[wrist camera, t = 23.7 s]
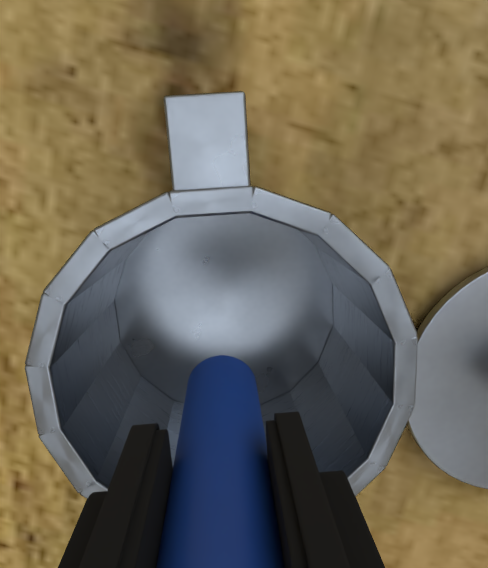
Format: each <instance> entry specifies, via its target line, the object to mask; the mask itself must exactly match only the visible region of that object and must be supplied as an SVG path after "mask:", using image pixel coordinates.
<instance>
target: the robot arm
mask: <svg viewBox="0 0 488 568" xmlns="http://www.w3.org/2000/svg"><path fill="white" fill-rule="evenodd" d="M266 441H267V459H268V466H269V472H270V478H271V485H272V491H273V497H274V503H275V510H276V516H277V522H278V528H279V535H280V541H281V547H282V553H283V559H284V566H285V568H385V566H384V564H383V562H382V559H381V557H380V554H379V552H378V550H377V547H376V545H375V543H374V540H373V538H372V535H371V533H370V531H369V528H368V526H367V523H366V521H365V519H364V516H363V514H362V512H361V509H360V507H359V504H358V502H357V500H356V497H355V495H354V493H353V490H352V488H351V485H350V483H349V481H348V478H347V476H346V474H345V472H344V471H342V470H340V471H328V472H319V471H318V468H317V465H316V462H315V459H314V456H313V453H312V450H311V447H310V444H309V441H308V438H307V435H306V432H305V429H304V426H303V423H302V420H301V417H300V414H299V412H298V411H297V412H285V413H274V420H269V421H266ZM172 473H173V466H172V458H171V449H170V441H169V433H168V430H167V429H162V430H160V428H159V425H158V423H153V424H141V425H133V426H132V427H131V429H130V431H129V434H128V437H127V439H126V442H125V445H124V447H123V450H122V453H121V455H120V458H119V461H118V464H117V466H116V469H115V472H114V474H113V477H112V480H111V482H110V485H109V488H108V490H107V491H101V492H93V493H92V494H90V495H89V497H88V499H87V501H86V503H85V505H84V508H83V510H82V513H81V515H80V517H79V520H78V522H77V524H76V527H75V529H74V531H73V534H72V536H71V538H70V541H69V543H68V545H67V548H66V550H65V552H64V555H63V557H62V559H61V562H60V564H59V567H58V568H156V566H157V560H158V554H159V548H160V543H161V537H162V531H163V525H164V519H165V513H166V508H167V502H168V496H169V490H170V484H171V478H172Z"/></svg>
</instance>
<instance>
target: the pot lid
mask: <svg viewBox="0 0 488 568" xmlns="http://www.w3.org/2000/svg"><path fill="white" fill-rule="evenodd" d="M417 337H418V346H417V373H416V399H415V405H414V406H415V407H414V409H413V412H412V414H411V416H410V418H409V420H408V422H407V425H408V428H409V430H410V432H411V434H412V436H413V437H414V439H415V441H416V443H417V444H418V445H419V447H420V448H421V449H422V451H423V452H424V453H425V455H426V456H427V457H428V458H429V459H430V460H431V461H432V462H433V463H434V464H435V465H436V466H437V467H438V468H440V469H441V470H443V471H444V472H445V473H447V474H448V475H450V476H452V477H454V478H456V479H458V480H460V481H462V482H464V483H467V484H470V485H473V486H476V487H481V488H485V489H488V267H486V268H484V269H482V270H480V271H479V272H477V273H475V274H473V275H471V276H469V277H468V278H467V279H465V280H464V281H462V282H461V283H459V284H458V285H457V286H455V287H454V288H453V289H452V290H451V291H449V292H448V293H447V294H446V295H445V296H444V297H443V298H442V299H441V300H440V301H439V302H438V303H437V304H436V305H435V306H434V308H433V309H432V310H431V311H430V312H429V314H428V315H427V316H426V318H425V319H424V321H423V322H422V324H421V325H420V327H419V329H418V330H417Z"/></svg>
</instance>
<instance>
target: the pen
mask: <svg viewBox="0 0 488 568" xmlns="http://www.w3.org/2000/svg"><path fill="white" fill-rule="evenodd" d="M156 568H285V566H284V559H283V553H282V547H281V541H280V535H279V528H278V522H277V516H276V510H275V503H274V497H273V491H272V485H271V478H270V472H269V466H268V459H267V444H266V438H265V432H264V426H263V420H262V414H261V408H260V402H259V396H258V390H257V384H256V379H255V376H254V374H253V372H252V370H251V369H250V368H249V366H248V365H247V364H245V363H244V362H243V361H241V360H239V359H237V358H235V357H231V356H225V355H219V356H213V357H210V358H207V359H205V360H204V361H202V362H201V363H199V364H198V365H197V366H196V367H195V368H194V369H193V371H192V373H191V374H190V377H189V380H188V384H187V390H186V396H185V402H184V408H183V413H182V419H181V425H180V431H179V437H178V442H177V448H176V454H175V460H174V466H173V473H172V478H171V484H170V490H169V496H168V502H167V508H166V513H165V519H164V525H163V531H162V537H161V543H160V548H159V554H158V560H157V566H156Z"/></svg>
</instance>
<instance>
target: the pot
mask: <svg viewBox="0 0 488 568" xmlns="http://www.w3.org/2000/svg"><path fill="white" fill-rule="evenodd" d="M163 100H164V109H165V119H166V129H167V139H168V149H169V159H170V169H171V179H172V189H173V190H172V191H169V192H165V193H163V194H161V195H159V196H157V197H155V198H153V199H151V200H149V201H147V202H145V203H143V204H141V205H139V206H137V207H135V208H133V209H131V210H129V211H127V212H125V213H123V214H122V215H120V216H118V217H116V218H114V219H112V220H110V221H108V222H106V223H104V224H102V225H100V226H98V227H96V228H95V229H94V230H92V231H91V232H90V233H89V234H88V235H87V237H86V238H85V239H84V240H83V242H82V243H81V244H80V245H79V247H78V248H77V249H76V250H75V252H74V253H73V254H72V255H71V257H70V258H69V259H68V260H67V262H66V263H65V264H64V265H63V266H62V268H61V269H60V270H59V271H58V273H57V274H56V275H55V276H54V278H53V279H52V280H51V281H50V283H49V284H48V285H47V286H46V288H45V289H44V291H43V294H42V295H41V300H40V304H39V308H38V312H37V316H36V320H35V324H34V328H33V332H32V336H31V341H30V345H29V349H28V353H27V357H26V361H25V364H26V365H25V371H26V376H27V381H28V386H29V391H30V395H31V400H32V405H33V410H34V415H35V420H36V425H37V430H38V434H39V438H40V439H41V441H42V442H43V444H44V445H45V447H46V448H47V449H48V451H49V452H50V454H51V455H52V457H53V458H54V459H55V461H56V462H57V464H58V465H59V466H60V468H61V469H62V471H63V472H64V474H65V475H66V476H67V478H68V479H69V481H70V482H71V484H72V485H73V486H74V488H75V489H76V491H77V492H78V493H80V494H81V495H82V496H84V497H85V498H87V499H88V497H89V495H90V494H92V493H93V492H101V491H107V490H108V488H109V485H110V482H111V480H112V477H113V474H114V472H115V469H116V466H117V464H118V461H119V458H120V455H121V453H122V450H123V447H124V445H125V442H126V439H127V437H128V434H129V431H130V429H131V427H132V426H133V425H141V424H153V423H158V425H159V428H160V430H162V429H167V430H168V433H169V441H170V449H171V458H172V466H174V460H175V454H176V448H177V442H178V437H179V431H180V425H181V419H182V413H183V408H184V402H185V396H186V390H187V384H188V380H189V377H190V374H191V373H192V371H193V369H194V368H195V367H196V366H197V365H198V364H199V363H201V362H202V361H204V360H205V359H207V358H210V357H213V356H219V355H225V356H231V357H235V358H237V359H239V360H241V361H243V362H244V363H245V364H247V365H248V366H249V368H250V369H251V370H252V372H253V374H254V376H255V379H256V384H257V390H258V396H259V402H260V408H261V414H262V420H263V426H264V432H265V438H266V421H269V420H274V413H285V412H297V411H298V412H299V414H300V417H301V420H302V423H303V426H304V429H305V432H306V435H307V438H308V441H309V444H310V447H311V450H312V453H313V456H314V459H315V462H316V465H317V468H318V471H319V472H328V471H340V470H342V471H344V472H345V474H346V476H347V478H348V481H349V483H350V485H351V488H352V490H353V493H354V495H355V496H356V495H357V494H359V493H360V492H361V491H362V490H363V489H364V488H365V487H366V486H367V485H368V484H369V483H370V482H371V481H372V480H373V479H374V478H375V477H376V476H378V475H379V474H380V473H381V472H382V471H383V470H384V469H385V466H387V464H388V462H389V460H390V458H391V456H392V454H393V452H394V450H395V447H396V445H397V443H398V441H399V439H400V437H401V435H402V433H403V431H404V428H405V426H406V424H407V422H408V420H409V418H410V416H411V414H412V412H413V409H414V407H415V406H414V405H415V399H416V373H417V346H418V337H417V331H416V329H415V327H414V324H413V322H412V319H411V317H410V314H409V312H408V309H407V307H406V305H405V302H404V300H403V297H402V295H401V292H400V290H399V287H398V285H397V283H396V280H395V278H394V275H393V273H392V270H391V269H390V267H389V266H388V265H387V264H386V263H385V262H384V261H383V260H382V259H381V258H380V257H379V256H378V255H377V254H376V253H375V252H374V251H373V250H371V249H370V248H369V247H368V246H367V245H366V244H365V243H364V242H363V241H362V240H361V239H360V238H359V237H358V236H357V235H356V234H354V233H353V232H352V231H351V230H350V229H349V228H348V227H347V226H346V225H345V224H344V223H343V222H342V221H341V220H340V219H338V218H337V217H336V216H335V215H334V214H331V213H330V212H328V211H325V210H322V209H319V208H316V207H314V206H311V205H308V204H305V203H302V202H300V201H297V200H294V199H291V198H288V197H285V196H283V195H280V194H277V193H274V192H271V191H268V190H266V189H263V188H260V187H257V186H251V185H250V168H249V150H248V133H247V115H246V98H245V93H244V92H243V91H237V92H220V93H203V94H185V95H168V96H165V97H164V99H163ZM266 444H267V441H266Z"/></svg>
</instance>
